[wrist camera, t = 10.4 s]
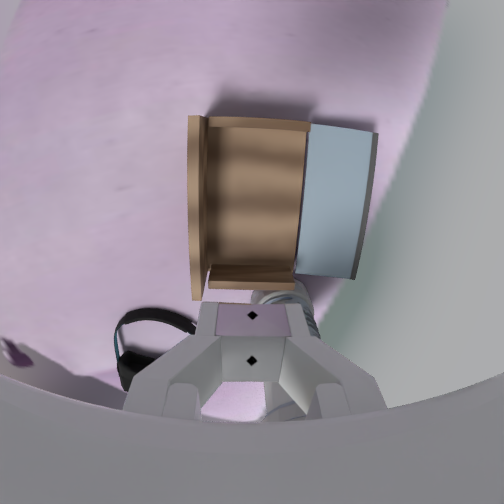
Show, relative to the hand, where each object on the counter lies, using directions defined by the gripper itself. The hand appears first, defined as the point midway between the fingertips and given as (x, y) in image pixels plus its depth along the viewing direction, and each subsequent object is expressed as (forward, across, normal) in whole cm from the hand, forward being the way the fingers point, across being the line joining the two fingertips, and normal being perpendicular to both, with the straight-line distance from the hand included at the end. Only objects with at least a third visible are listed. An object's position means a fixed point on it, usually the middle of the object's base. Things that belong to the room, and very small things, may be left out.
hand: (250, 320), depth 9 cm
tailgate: (+31, -8, +4) cm, 32 cm away
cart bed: (+34, -1, +4) cm, 34 cm away
